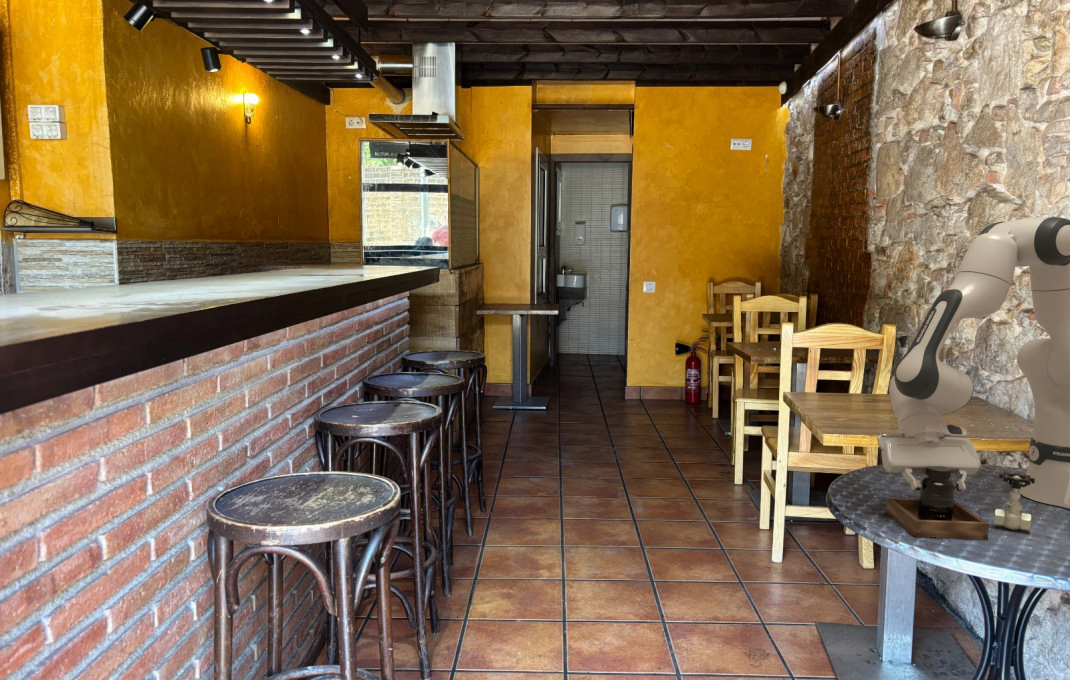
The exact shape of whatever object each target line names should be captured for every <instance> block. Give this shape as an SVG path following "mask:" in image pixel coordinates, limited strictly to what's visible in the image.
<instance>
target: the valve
mask: <svg viewBox="0 0 1070 680" xmlns="http://www.w3.org/2000/svg"><path fill="white" fill-rule="evenodd" d="M998 479H1000V480H1001V479H1002V481H1003V482H1005V483H1008V484H1009V485H1008V486H1010V488H1012V490H1011V491H1009V498H1010V499H1009V500H1008V501H1006V502H1005V508H1006V510H1004V509H1001V508H996V509H995V511H994V512H995V513H994V522H993V525H994V526H996V527H1001V528H1002V527H1004V528H1006V529H1008V530H1011V531H1017V530H1020V531H1023V532H1024V531H1025V532H1030V531H1031V527H1032V526H1031V524H1032V515H1031V514H1029V513H1023V512H1022V513H1021V511H1022V510H1023V504H1022V503H1020V501H1019V500H1020V499H1021V494H1020V492H1019V490H1020V489H1021V487H1026V486H1027V485H1030V483H1032V484H1034V483H1035V479H1034V478H1030V475H1026V474H1024V475H1023V474H1021V472H1017V471H1016V472H1013V473H1011V472H1009V471H1003V473H1002V472H999V473H998ZM1023 483H1025V484H1023Z"/></svg>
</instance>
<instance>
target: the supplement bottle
mask: <svg viewBox="0 0 1070 680" xmlns="http://www.w3.org/2000/svg"><path fill="white" fill-rule="evenodd" d="M951 479H952V474H951V469H950V468H948V467H944V466H927V468H926V474H925V477H923V478H921V480H920V484H921V489H920V490H918V491H919V493H918V499H919V503H918V518H919V519H920V520H938V521H952V517H953V506H954V501H955V494H956V493H955V492H956V490H955V489H956V488H955V485H954V484H955V483H954V482H953V481H952V480H951Z"/></svg>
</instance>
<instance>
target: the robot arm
mask: <svg viewBox="0 0 1070 680" xmlns="http://www.w3.org/2000/svg"><path fill="white" fill-rule="evenodd" d="M963 256H964V257H963V258H962V260H961V262H960V265H959V267H958V270H957V272H956V275H955V277H954V280H953V282H952V283H951V285H950V286H949V287H948V288H947V290H944V291H942V292H941V293H940V294H938V296H937V297H936V299H934V301H933V303H932V305H931V307H930V308H929V310H928V312H927V314H926V316H925V317H924V319H923V320H922V321H923V322H922V323H921V325H920V327H919V329H918V331H917V334H916V335H915V337H914V339H913V341H912V342H911V345H910V347H909V348H908V349H907V351H906V352H905V354H904V355H903V356H902V358H901V359H900V360H899V361H898V363H897V365H896V367H895V370H894V373H893V374H894V375H893V376H892V377H891V379H890V381H889V387H888V388H889V389H888V391H889V399H890V403H891V406H892V410H893V413H894V415H895V416H896V418H897V428H898V431H899V433H888V432H887V433H883V434H881V435H879V436H878V439H877V442H878V447H879V449H880V450H881V460H882V465H883V466H882V467H883V470H885V471H886V472H887V473H890V474H891V473H895V474H896V473H897V474H898V473H899V474H901V476H902V478H903V479H904V480H906V481H907V483H908V484H910V488H911V491H920V489H921V484H920V481H921V480H920V479H916V478H915V477H914V476H913V474H925V475H926V468H927V466H944V467H948V468H950V469H951V475H955V478H956V479H958V480H957V481H956V482H955V483H954V485H955V492H962V493H963V492H964V491H965V490H966V488H967V487H966V483H965V481H966V478H967V476H973V475H975V474H976V473H977V472H978V471H979V469H980V468H981V465H982V463H981V459H980V457H979V454H978V452H977V450H976V448H975V446H974V444H973V443H972V441H971V440H970V439H968V438H966V437H967V436H968V431H967V430H966V428H965V427H963V426H958V425H955V424H951V423H948V422H946V421H944V420H940V416H943V415H947V414H950V413H955V412H956V411H959V410H961V409H962V408H964V407H966V406H967V405H968V404H969V403H970V401H971V400H972V398H973V396H974V391H975V389H974V388H975V386H974V382H973V379H972V377H971V376H970V375H969V374H967V373H966V372H964V371H963V370H960V369H958V368H956V367H954V366H952V365H948V364H945V363H944V362H942V361H940V354H941V350H942V348H943V347H944V346H945V343H946V341H947V339H948V338H949V336H950V333H951V331H952V330H953V328H954V326H955V325H956V324H957V323H958V322H959V321H961V320H964V319H979V318H980V319H981V318H984V317H988V316H990V315H993V314H995V313H996V312H998V311H999V310H1000V309H1001V308H1002V306H1003V304H1004V303H1005V301H1006V299H1007V297H1008V295H1009V294H1008V293H1009V290H1010V287H1011V285H1012V281H1013V279H1014V276H1015V270H1016V267H1029V270H1030V271H1029V273H1030V275H1029V276H1030V277H1029V280H1030V290H1031V298H1032V306H1033V314H1034V319H1035V321H1036V323H1037V324H1038V326H1040V327H1041V328H1043V330H1044V331H1045V332H1046V333H1047V335H1048V336H1049V337H1044V338H1042V337H1041V338H1034V339H1029V340H1028V341H1025V343H1023V344H1022V345H1021V346H1020V348H1019V350H1018V352H1017V355H1016V363H1017V366H1018V368H1019V370H1020V371H1021V372H1022V373H1023V374H1024V376H1025V377H1026V379H1027V382H1028V384H1029V387H1030V390H1031V394H1032V398H1033V404H1034V419H1033V421H1034V422H1033V431H1032V432H1033V433H1032V437H1031V438H1030V441H1029V448H1028V449H1029V450H1028V465H1027V469H1026V474H1025V475H1030V478H1034V479H1035V483H1034V484H1032V483H1030V485H1027V486H1026V487H1021V489H1018V492H1019V493H1020V495H1021V496H1023V497H1025V498H1027V499H1030V500H1032V501H1036V502H1039V503H1043V504H1047V505H1051V506H1056V507H1060V508H1061V507H1062V508H1066V509H1070V219H1069V218H1064V217H1058V216H1057V217H1056V216H1050V217H1024V218H1020V219H1013V220H1007V221H998V222H994V223H991V224H989V225H988V224H987V225H986V226H985V227H984V228H983V229H982V230H981V231H980V232H979V235H978V236H976V237H975V238H974V239H973V241H972V242H971V244H970V245H969V247H968V249H967V250H966V253H965V254H964V255H963ZM1022 484H1025V483H1022Z"/></svg>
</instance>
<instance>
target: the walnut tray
mask: <svg viewBox="0 0 1070 680" xmlns="http://www.w3.org/2000/svg"><path fill="white" fill-rule="evenodd" d="M918 503H919V498H907V497H906V498H905V497H904V498H903V497H886V506H885V513H886V514H887V513H888V514H889V515H890V516H891V517H890V516H889V515H888V514H887V515H888V516H889V517H890V518H891V519H893V518H894V519H895V520H896V521H897V522H898V523H897V522H896V521H895V520H894V519H893V520H894V521H895V522H896V523H897V524H899V523H900V524H901V525H902V526H903V527H904V528H903V527H902V526H901V525H900V524H899V525H900V526H901V527H902V528H903V529H904V530H906V531H907V530H908V531H909V532H910V533H911V534H910V533H909V532H908V531H907V532H908V533H909V534H910V535H912V536H913V535H914V536H915V537H914V536H913V537H914V538H918V537H936V538H935V539H948V538H956V539H957V540H977V541H978V540H981V541H983V540H985V541H988V540H989V532H990V531H989V530H990V523H989V522H988V521H986V520H984V519H983V518H981V517H980V516H978V515H977V514H975V513H973V512H972V511H971V510H970V509H968V508H966V507H965V506H963V505H962V504H960V503H959V502H957V501H956V500H954V506H953V517H952V521H938V520H920V519H919V518H918ZM956 539H955V540H956Z"/></svg>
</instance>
